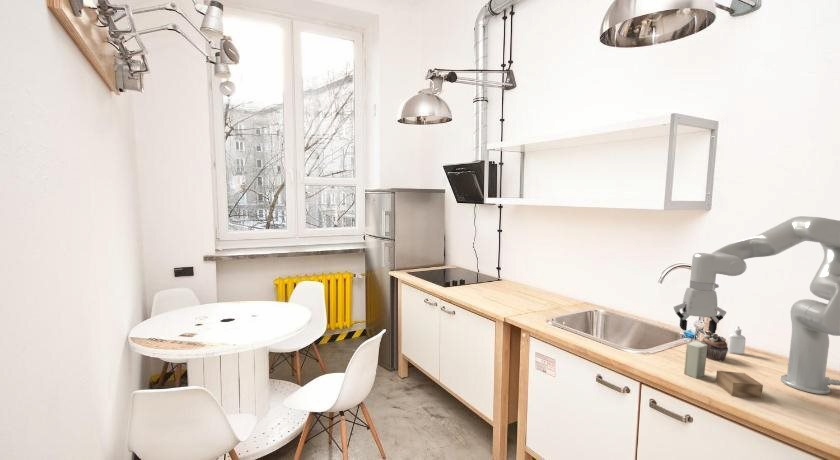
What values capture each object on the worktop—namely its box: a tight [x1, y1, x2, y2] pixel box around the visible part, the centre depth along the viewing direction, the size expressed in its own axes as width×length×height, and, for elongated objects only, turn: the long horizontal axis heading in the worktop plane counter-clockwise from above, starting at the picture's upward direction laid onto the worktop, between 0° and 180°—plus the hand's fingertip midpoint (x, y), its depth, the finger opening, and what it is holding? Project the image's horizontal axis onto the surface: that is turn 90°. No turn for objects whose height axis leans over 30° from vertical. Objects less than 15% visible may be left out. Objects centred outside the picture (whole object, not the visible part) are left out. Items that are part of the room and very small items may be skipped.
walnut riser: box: [715, 370, 764, 400], centre depth 133 cm, size 9×9×5 cm
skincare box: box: [683, 340, 707, 379], centre depth 144 cm, size 6×4×12 cm
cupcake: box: [700, 333, 729, 362], centre depth 161 cm, size 10×10×10 cm
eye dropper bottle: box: [727, 325, 746, 355], centre depth 167 cm, size 4×6×12 cm
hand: (697, 330), depth 143 cm, fingers open, 9 cm apart
